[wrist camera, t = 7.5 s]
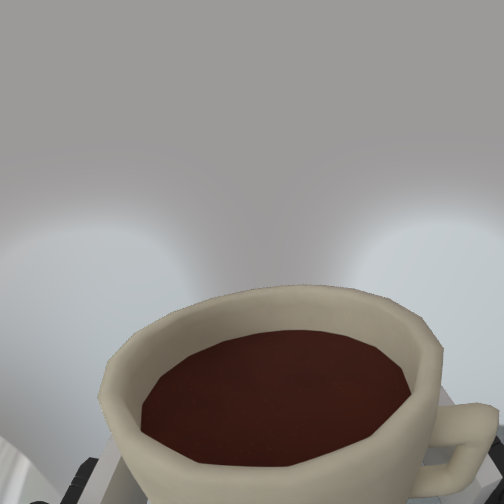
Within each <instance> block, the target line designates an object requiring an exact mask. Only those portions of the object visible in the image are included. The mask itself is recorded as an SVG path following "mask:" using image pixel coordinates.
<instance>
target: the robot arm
mask: <svg viewBox="0 0 504 504" xmlns="http://www.w3.org/2000/svg"><path fill="white" fill-rule="evenodd" d="M449 405H455V404H454V403H453V401H452V400H451V398H450V397H449V396H448V394H447V393H446V392H445V390H444V389H443V387H442V386H441V388H440V396H439V404H438V406H449ZM456 446H457V445H455V446H445V447H434V448H427V450H426V453H425V456H424V459H423V463H424V465H425V466H430V465H442V464H446V463H448V462H449V461H450V460H451V458H452V455H453V453H454V451H455V448H456ZM438 497H439V499H440V501H441V504H504V445H503V444H502V443H501V441H500V439H499V438H498V437H497V436H496V437H495V439H494V441H493V443H492V445H491V447H490V449H489V451H488V453H487V455H486V457H485V459H484V461H483V463H482V465H481V467H480V469H479V470H478V472H477V474H476V476H475V477H474V479H473V481H472V483H471V484H470V485H469V486H467V487H466V488H465V489H464V490H463V491H461V492H458V493H454V494H451V495H446V496H438ZM147 500H148V498H147V496H146V495H145V493H144V492H143V490H142V489H141V487H140V486H139V484H138V483H137V481H136V480H135V478H134V476H133V475H132V473H131V472H130V470H129V468H128V467H127V465H126V463H125V461H124V459H123V457H122V455H121V453H120V451H119V449H118V447H117V445H116V443H115V440H114V438H113V436H112V435H111V437H110V439H109V441H108V443H107V445H106V447H105V448H104V451H103V452H102V454H101V456H100V458H99V459H97V458H91V457H90V458H88V459H87V460H86V461H85V462H84V463H83V464H82V465H81V466H80V468H79V469H78V471H77V473H76V475H75V477H74V479H73V480H72V482H71V485H70V486H69V488H68V490H67V492H66V494H65V496H64V497H63V499H62V501H61V503H60V504H147ZM30 504H48V503H46V502H44V501H36V502H33V503H30Z"/></svg>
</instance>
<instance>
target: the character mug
mask: <svg viewBox="0 0 504 504" xmlns="http://www.w3.org/2000/svg"><path fill="white" fill-rule="evenodd" d="M443 351H444V348H443V347H442V345H441V344H440V343H439V341H438V340H437V338H436V337H435V335H434V334H433V332H432V331H431V330H430V328H429V327H428V326H427V324H426V323H425V321H424V320H423V319H422V317H420V316H418V315H417V314H415V313H413V312H411V311H410V310H408V309H406V308H405V307H403V306H401V305H399V304H398V303H396V302H394V301H392V300H391V299H389V298H385V297H382V296H378V295H374V294H371V293H367V292H364V291H360V290H356V289H352V288H343V287H335V286H326V285H288V286H275V287H267V288H258V289H251V290H247V291H242V292H238V293H233V294H229V295H224V296H219V297H215V298H211V299H208V300H205V301H202V302H200V303H197V304H194V305H191V306H189V307H186V308H183V309H180V310H177V311H174V312H172V313H170V314H168V315H166V316H165V317H162V318H161V319H159V320H157V321H155V322H154V323H152V324H150V325H148V326H146V327H145V328H143V329H141V330H139V331H138V332H136V333H134V334H133V335H132V336H131V337H130V338H129V339H128V341H126V343H124V345H123V346H122V347H121V348H120V349H119V350H118V351H117V352H116V353H115V354H114V355H113V356H112V357H111V358H110V359H109V360H108V362H107V365H106V369H105V372H104V376H103V379H102V383H101V386H100V390H99V394H98V401H99V404H100V406H101V409H102V412H103V414H104V418H105V420H106V423H107V425H108V427H109V429H110V431H111V434H112V436H113V438H114V440H115V443H116V445H117V447H118V449H119V451H120V453H121V455H122V457H123V459H124V461H125V463H126V465H127V467H128V468H129V470H130V472H131V473H132V475H133V476H134V478H135V480H136V481H137V483H138V484H139V486H140V487H141V489H142V490H143V492H144V493H145V495H146V496H147V498H148V499H149V501H150V502H151V504H406V502H407V499H409V498H425V497H437V496H446V495H451V494H454V493H458V492H461V491H463V490H464V489H465V488H466V487H467V486H469V485H470V484H471V483H472V481H473V479H474V477H475V476H476V474H477V472H478V470H479V469H480V467H481V465H482V463H483V461H484V459H485V457H486V455H487V453H488V451H489V449H490V447H491V445H492V443H493V441H494V439H495V437H496V433H497V429H498V425H499V410H498V409H496V408H494V407H492V406H491V405H486V404H481V403H470V404H460V405H449V406H438V404H439V396H440V388H441V377H442V365H443ZM455 445H457V446H456V448H455V451H454V453H453V455H452V458H451V460H450V461H449V462H448V463H446V464H442V465H430V466H421V464H422V462H423V459H424V456H425V453H426V450H427V448H434V447H445V446H455Z"/></svg>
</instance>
